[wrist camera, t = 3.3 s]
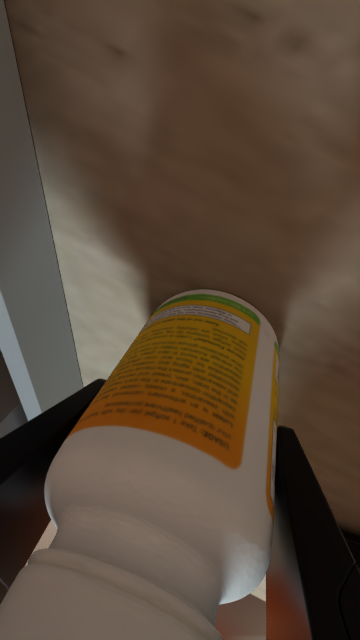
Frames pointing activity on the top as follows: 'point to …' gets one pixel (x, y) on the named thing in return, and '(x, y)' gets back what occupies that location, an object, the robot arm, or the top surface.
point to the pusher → (9, 402)
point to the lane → (29, 260)
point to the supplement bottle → (161, 485)
